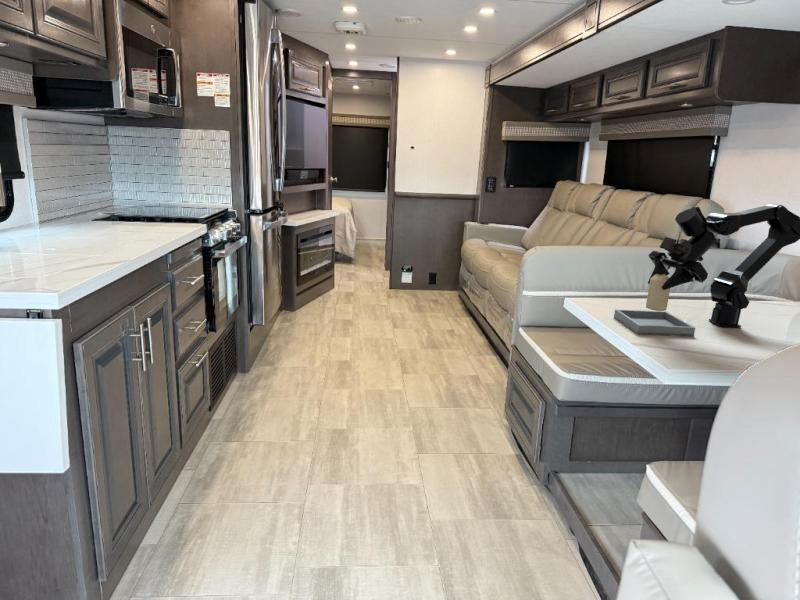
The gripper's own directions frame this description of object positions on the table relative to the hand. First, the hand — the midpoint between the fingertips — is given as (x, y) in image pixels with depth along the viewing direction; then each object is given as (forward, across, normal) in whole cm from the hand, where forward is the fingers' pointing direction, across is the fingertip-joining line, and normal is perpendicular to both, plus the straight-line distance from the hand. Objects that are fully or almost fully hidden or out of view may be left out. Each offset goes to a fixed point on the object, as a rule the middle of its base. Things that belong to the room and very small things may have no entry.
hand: (655, 286), depth 157 cm
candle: (+4, 0, +6) cm, 7 cm away
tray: (+8, 0, +9) cm, 12 cm away
